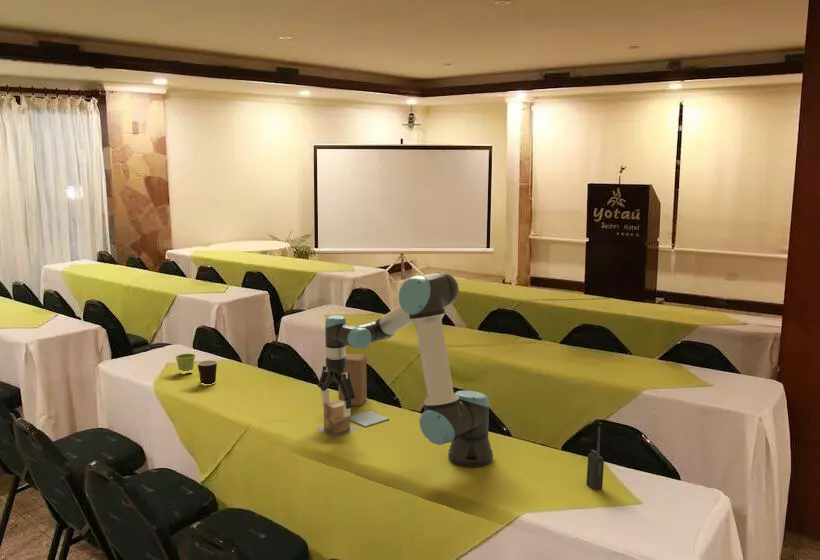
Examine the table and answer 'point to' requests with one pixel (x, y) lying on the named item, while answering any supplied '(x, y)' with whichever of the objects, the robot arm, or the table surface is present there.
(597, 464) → the walkie-talkie
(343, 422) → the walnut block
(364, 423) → the pad
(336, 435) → the plate
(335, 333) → the robot arm
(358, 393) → the wooden block
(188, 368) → the plant pot
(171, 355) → the table surface
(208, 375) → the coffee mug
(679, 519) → the table surface
